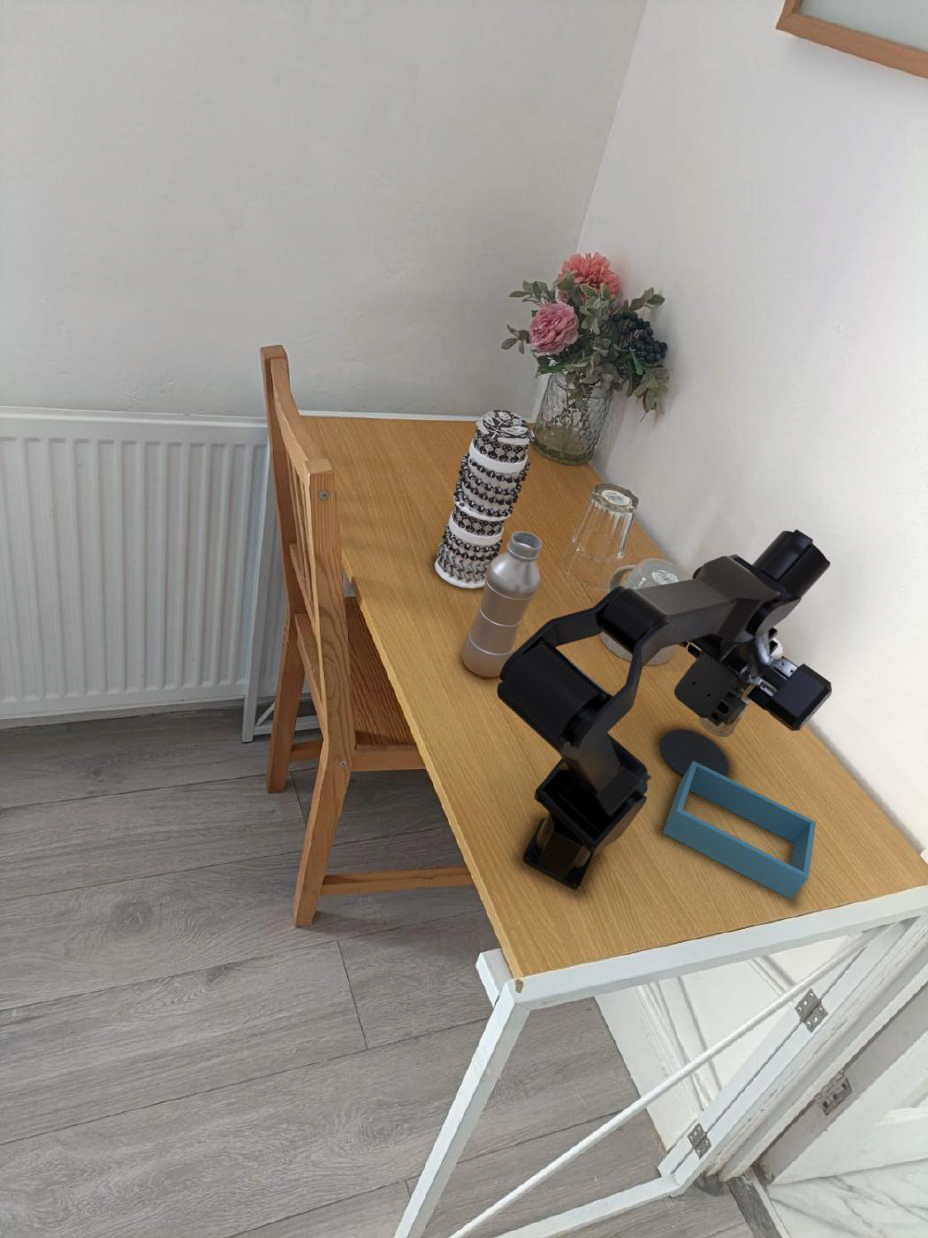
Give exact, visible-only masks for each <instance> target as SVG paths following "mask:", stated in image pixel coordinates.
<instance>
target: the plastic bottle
mask: <svg viewBox="0 0 928 1238" xmlns="http://www.w3.org/2000/svg"><path fill="white" fill-rule="evenodd" d="M542 546H543V542H542V540H541V539H540V538H539V537H538V536H536V535H535V534H533V533H530V532H527V531H522V530H520V531H518V530H517V531H514V532H513V533H512V534H511V536H510V539H509V541H508V542H507V545H506V551H503V552H501V553H500V554H498V556H496V557H495V558H494V559H493V560H492V561H491V563H490V564H489V566H488V567H487V572H486V578H485V585H484V586H483V592H482V597H481V600H480V605H479V607H478V611H477V614H476V617H475V618H474V621H473V623H472V625H471V627H470V629H469V630H468V632H467V634H466V636H465V637H464V640H463V642H462V645H461V652H460V653H461V655H460V656H461V659H462V661H463V663H464V665H465V667H466V668H467V669H468V670H469V671H471V672H472V673H474V674H476V675H477V676H481V677H486V678H494V677H499V676H500V672H501V670H502V667H503V666H504V664H505V662H506V661H507V660H508V658H509V657H510V656H511V655H512V654H513V653H514V652H515V648H516V647H515V644H516V641H517V636H518V633H519V629H520V625H521V623H522V620H523V618H524V616H525V613H526V611H527V609H528V607H529V606H530V604H531V602H532V600H533V598H534V597H535V595H536V594H537V591H538V589H539V588H540V585H541V575H540V574H541V573H540V571H539V567H538V564H537V562H536V561H537V560H538V559H539V557H540V551H541V549H542Z"/></svg>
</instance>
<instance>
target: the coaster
mask: <svg viewBox="0 0 928 1238" xmlns="http://www.w3.org/2000/svg"><path fill="white" fill-rule="evenodd" d="M659 750H660V754H661V756H662V758H663V760H664V762H665V763H666V765H668V767H669V768H671V769H672V770H673V771H674V772H675V773H676V774H677V775H679V776H680V777H682V778H683V777H684V775H685V773H686V772H687V770H688V768H689V767H690V765H691V763H692V762H693V761H695V762H697V763H699V764H701V765H703V766H705V767H707V768H709V769H711V770H713V771H715V772H717V773H719V774H721V775H723V776H725V777H727V776H728V774H729V771H730V766H729V762H728V757H726V754H725V753H724V751H723V750H722V749H721V748H720V747H719V746H718V744H716V743H715V742H714V741H713V740H711V739H709V738H708V737H707V736H706V735H703V734H701V733H699V732H697V731H693V730H689V729H683V728H677V729H672V730H670V731H667V732H666V733H665V734H663V736H662V737H661V739H660V742H659Z"/></svg>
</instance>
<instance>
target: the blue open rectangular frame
mask: <svg viewBox="0 0 928 1238" xmlns="http://www.w3.org/2000/svg"><path fill="white" fill-rule="evenodd" d="M689 792H691V793H694V794H695V795H698V796H699V797H700V798H703V799H705V800H707V801H709V802H711V803H714V805H717V806H719V807H721V808H723V809H725V810H727V811H728V812H731V813H732V814H735V815H736V816H739V817H741V818H743V819H745V820H747V821H749V822H750V823H752V824H754V825H757V826H759V827H761V828H763V829H764V830H766V831H768V832H770V833H772V834H774V835H776V836H778V837H780V838H782V839H785V840H786V841H788V842H790V843H792V844H793V850H792V858H791V863H790V864H789V863H787V862H785V861H783V860H781V859H779V858H777V857H775V856H774V855H771V854H769V853H767V852H765V851H764V850H762V849H759V847H756V846H753V844H752V845H751V844H749V843H748V842H746V841H745V840H742V839H740V838H738V837H736V836H734V835H732V834H730V833H729V832H726V831H724V830H722V829H721V828H718V827H716V826H715V825H713V824H710V823H709V822H706V821H705V820H703V819H700V817H697V816H695V815H693V814H691V813H690V812H687V811H686V810H684V807H685V804H686V801H687V797H688V794H689ZM816 824H817V822H816V821H815V820H813V819H811V818H809V817H808V816H806V815H803V814H801V813H799V812H797V811H795V810H793V809H791V808H789V807H787V806H785V805H783V804H781V803H779V802H777V801H775V800H773V799H771V798H769V797H767V796H765V795H763V794H761V793H759V792H757V791H755V790H753V789H751V788H749V787H747V786H745V785H743V784H741V783H739V782H737V781H735V780H733V779H731V778H729V777H727V776H726V777H725V776H723V775H721V774H719V773H717V772H715V771H713V770H711V769H709V768H707V767H705V766H703V765H701V764H699V763H697V762H695V761H693V762H692V763H691V765H690V767H689V768H688V770H687V772H686V773H685V775H684V777H682V778H681V780H680V782H679V784H678V788H677V790H676V794H675V795H674V798H673V802H672V805H671V808H670V811H669V814H668V816H667V819H666V822H665V825H664V828H663V831H662V834H664V835H666V836H668V837H669V838H671V839H673V840H674V841H677V842H679V843H681V844H683V845H684V846H687V847H688V848H691V849H692V850H695V851H697V852H699V853H700V854H702V855H704V856H706V857H707V858H709V859H712V860H713V861H715V862H717V863H720V864H721V865H723V866H725V867H727V868H729V869H731V870H733V871H735V872H737V873H738V874H740V875H743V876H745V877H747V878H748V879H751V880H752V881H754V882H756V883H758V884H760V885H762V886H764V887H766V888H768V889H770V890H771V891H773V892H775V893H777V894H779V895H781V896H783V897H785V898H787V899H788V900H792V899H793V898H794V896H795V895H796V894H797V893H798V891H799V890H800V889H801V888H802V887H803V885H804V884H805V883H806V881H807V880H808V879H809V874H810V867H811V860H812V853H813V848H814V847H813V845H814V839H815V832H816Z"/></svg>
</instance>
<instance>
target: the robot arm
mask: <svg viewBox="0 0 928 1238" xmlns="http://www.w3.org/2000/svg"><path fill="white" fill-rule="evenodd" d="M830 567H831V561H830V560H828V558H827V557H826V556H825V554H824V553H823V552H822V551H821V550H820V548H818V546H816V545H815V544H814V539H813V538H811V537H810V536H808V535H807V534H805V533H804V532H802V531H800V530H799V529H794V530H793V531H791V530H782V531H781V532H780V533H779V534H778V536H776V538H775V539H774V540H772V542H771V543H770V544H769V545H768V546H767V548H765V550H764V551H763V552H762V553H761V554H760V555H759V557H757V558H756V560H754V562H753V563H752V564H751V562H748V561H747V560H745V559H744V558H742V557H741V556H739V555H738V554H735V553H734V554H731V555H723V556H719V557H716V558H714V559H711V560H709V561H707V562H704V563H703V564H702V565H701V566H698V567H697V568H696V570H695V571H694V572H693V574H692V576H691V577H692V578H691V579H686V580H685V579H684V580H680V581H675V582H669V583H663V584H657V585H653V586H647V587H641V588H632V587H626V586H624V585H619V586H616V587H615V588H613V589H612V590H610V591H609V592H608V593H607V594H606V595H605V596H603V598H602V599H601V600H599V602H598V603H596V604H595V605H594V606H592V607H590V608H586V609H583V610H579V611H576V612H572V613H568V614H565V615H561V616H557V617H555V618H554V617H553V618H551V619H549V620H548V621H546V623H544V624H543V625H542V626H541V627H540V628H538V629H537V631H536V632H534V633H533V635H531V636H530V637H529V638H528V639H527V640H526V641H525V642H524V643H523V644H521V645H520V647H518V648H517V649H516V650H514V653H513V654H512V655H511V656H510V657H509V658H508V660H507V661H506V662H505V664H504V666H503V667H502V670H501V672H500V675H499V680H500V682H498V684H497V686H496V694H497V697H498V699H499V700H500V701H501V702H503V704H504V705H506V706H507V707H508V708H509V710H511V711H512V712H513V713H514V714H516V716H517V717H519V718H520V720H522V721H523V722H524V723H525V724H526V725H527V726H529V727H530V729H532V730H533V731H534V732H535V733H536V734H537V735H538V736H540V738H542V740H543V741H545V742H546V743H547V744H548V745H549V746H550V747H551V748H552V749H554V751H555V752H557V754H559V756H560V758H561V759H560V760H559V761H558V762H557V763H556V765H555V766H553V768H552V769H551V771H550V772H549V773H548V775H547V776H546V777H545V778H544V780H543V781H542V782H541V783H540V784H539V785H538V787H537V788H536V789H535V790H534V801H536V802H537V803H539V804H540V805H541V806H542V807H544V809H545V810H546V811H548V812H547V815H546V816H545V818H544V817H543V818H541V819H540V822H539V823H538V826H537V827H536V829H535V830H534V833H533V835H532V837H531V839H530V841H529V843H528V845H527V847H526V848H525V851H524V853H523V855H521V861H522V862H523V863H525V864H526V865H529V866H531V867H532V868H534V869H536V870H538V871H539V872H541V873H543V874H545V875H547V876H549V877H551V878H553V879H554V880H556V881H558V882H560V883H562V884H564V885H566V886H567V887H569V888H571V889H573V890H578V889H579V888H580V886H581V885H582V882H583V880H584V877H585V876H586V873H587V870H588V868H589V866H590V863H591V861H592V859H593V857H595V856H597V855H598V854H599V853H601V852H602V851H604V850H605V849H606V848H608V847H609V846H611V845H612V844H614V843H615V842H616V841H617V840H618V839H620V838H621V837H622V836H623V834H624V833H625V832H626V830H627V829H628V828H629V826H630V825H631V824H632V822H633V821H634V820H635V818H636V817H637V816H638V814H639V813H640V811H641V810H642V808H643V807H644V806H645V804H646V802H647V799H648V797H647V796H646V795H645V794H647V792H648V789H649V788H648V786H649V785H648V781H650V780H651V779H652V776H651V775H650V774H649V773H648V768H647V767H646V765H645V764H644V763H643V762H642V761H641V760H640V759H638V758H637V756H635V755H634V754H632V752H630V751H629V750H628V749H627V748H626V747H624V746H623V745H622V744H621V743H620V742H619V741H617V739H615V738H614V737H613V736H612V735H611V734H610V733H609V731H611V730H612V729H613V728H614V727H615V726H616V725H617V724H618V723H619V722H620V721H621V720H622V719H623V718H624V717H626V715H627V714H628V713H629V712H630V711H631V710H632V709H633V707H634V705H635V700H636V697H637V692H638V688H639V684H640V680H641V677H642V671H643V668H644V667H645V666H646V665H647V664H648V663H649V662H650V661H651V660H652V659H653V658H654V657H655V656H656V655H657V654H658V653H659V652H660V651H661V650H663V649H665V648H668V647H671V646H675V645H678V646H679V647H681V648H684V649H686V648H687V652H688V653H689V654H690V655H691V656H693V657H694V658H695V660H694V662H693V663H692V664H691V665H690V666H689V668H688V669H687V671H686V672H685V673H684V674H683V676H682V677H681V679H680V680H679V681H678V683H677V684H676V685H675V687H674V690H673V694H674V697H675V698H676V699H677V700H678V701H679V702H680V703H682V704H683V705H684V706H686V708H688V709H689V710H690V711H691V712H692V713H694V714H695V715H697V716H698V718H699V717H702V718H707V719H708V720H710V721H711V722H712V723H713V724H715V725H716V726H717V727H718V726H719V725H720V724H721V723H722V722H723V723H724V724H726V725H731V724H733V723H734V722H735V720H736V719H737V718H738V716H739V715H740V714H741V713H742V711H743V710H744V709H745V707H746V703H745V702H744V701H742V699H741V697H742V695H743V694H744V692H743V691H741V689H743V690H744V691H745V690H746V689H747V688H748V687H749V686H750V685H751V683H753V684H754V685H756V686H755V687H754V688H753V689H752V690H751V692H750V693H749V694H748V695H747V697H748V698H749V699H750V700H752V701H751V702H752V703H754V704H755V705H757V706H758V707H760V709H762V710H763V711H766V712H767V713H768V714H769V715H770V716H771V717H772V718H774V720H776V721H777V722H779V723H780V724H782V725H783V726H784V727H786V728H787V729H788V730H789V731H790V732H797V731H801V730H802V729H803V728H804V726H806V724H807V723H808V722H809V720H811V718H812V717H814V715H815V714H816V713H817V712H818V710H819V709H820V708H822V706H823V705H824V704H825V703H826V701H827V700H828V699H829V698H830V697H831V696H832V694H833V693H832V692H833V689H832V682H831V681H829V680H828V679H827V678H825V677H824V676H823V675H821V674H819V673H818V672H817V671H816V670H814V669H812V668H811V667H810V666H809V665H807V664H806V663H802V664H800V665H799V666H798V665H797V664H795V663H794V662H793V661H791V660H790V659H789V658H786V657H785V656H784V655H781V657H780V658H779V659H774V658H773V657H772V656H770V655H771V654H772V653H773V652H774V651H775V650H776V648H777V647H778V643H777V642H775V641H774V640H773V638H774V637H775V638H776V636H777V635H778V631H779V630H778V629H777V628H775V626H777V625H778V624H779V623H780V622H782V621H784V620H785V619H786V618H788V616H789V615H790V614H791V612H792V611H793V610H794V609H795V608H796V607H797V606H798V605H799V604H800V603H801V601H802V599H803V597H805V595H806V594H807V593H808V592H809V591H810V590H811V588H812V587H813V586H814V585H815V584H816V583H817V582H818V581H819V579H820V578H821V577H822V576H823V575H824V574H825V573H826V572H827V570H828V569H829V568H830ZM602 633H604V634H605V635H606V636H608V637H609V638H610V639H612V641H614V642H615V643H616V644H618V645H619V646H620V647H622V649H624V650H625V651H626V652H628V653H629V654H630V655H631V661H630V665H629V669H628V673H627V676H626V681H625V684H624V685H623V686H622V687H621V688H620V689H619V690H618V691H617V692H616V693H615V694H614V695H612V694H611V693H610V692H609V691H607V690H606V689H605V688H604V687H603V686H601V685H600V684H599V683H598V682H597V681H596V680H594V679H593V678H592V677H591V676H590V675H588V674H587V673H586V671H584V670H583V669H581V668H580V667H579V666H578V665H577V664H576V663H575V662H573V661H572V660H571V659H569V658H568V657H567V656H566V655H565V654H564V653H563V652H562V651H560V650H559V649H558V648H557V647H560V646H564V645H567V644H571V643H575V642H579V641H582V640H585V639H589V638H592V637H596V636H598V635H600V634H602ZM769 665H771V666H770V667H768V666H769ZM758 674H759V675H760V676H761V678H760V676H757V675H758ZM756 676H757V677H756ZM759 678H760V679H759Z"/></svg>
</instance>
